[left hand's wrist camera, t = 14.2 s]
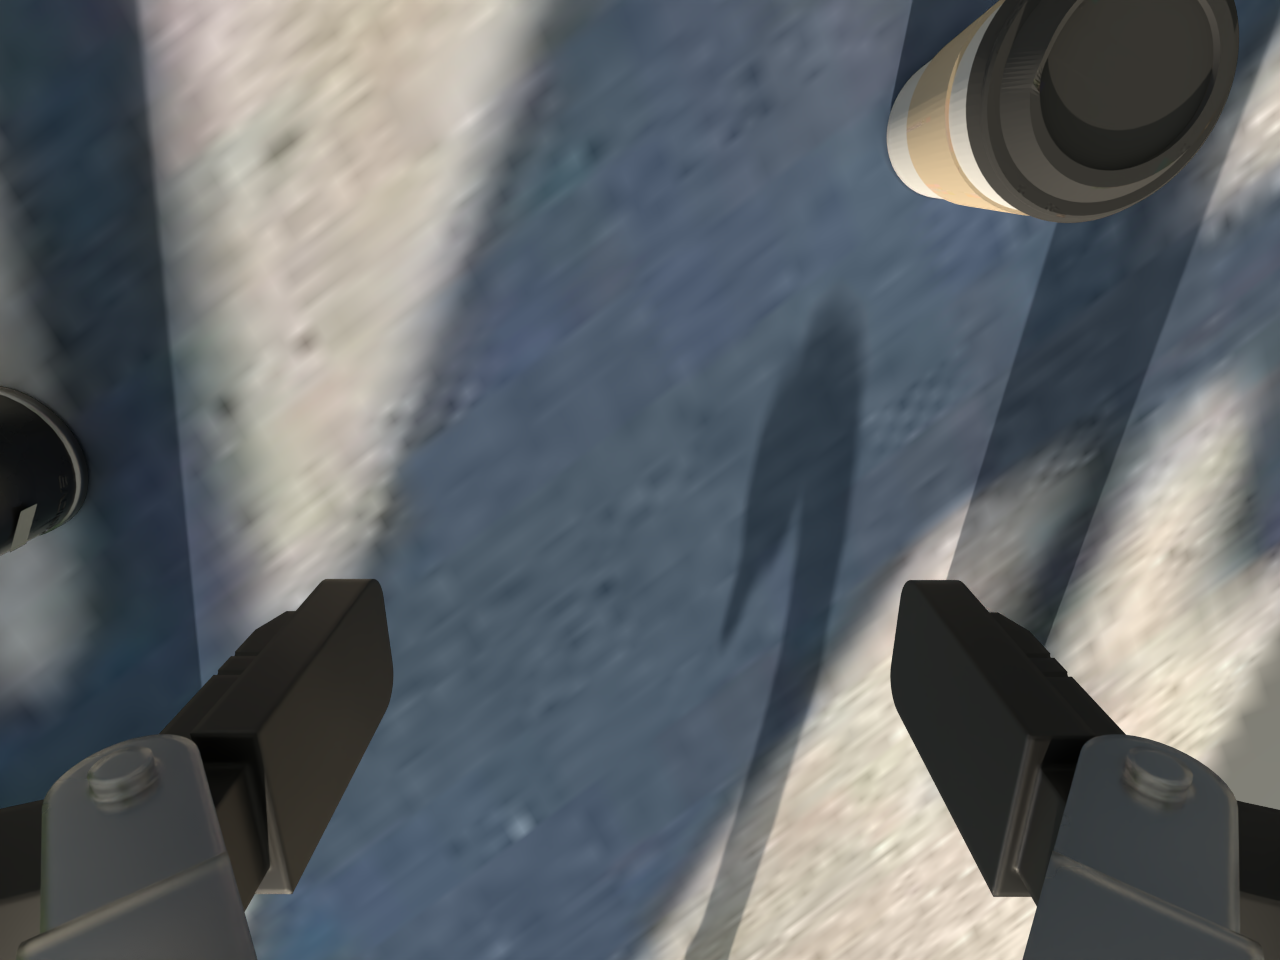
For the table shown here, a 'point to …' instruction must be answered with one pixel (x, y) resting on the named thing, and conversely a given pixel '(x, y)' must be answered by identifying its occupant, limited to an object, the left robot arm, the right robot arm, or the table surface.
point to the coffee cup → (1065, 105)
